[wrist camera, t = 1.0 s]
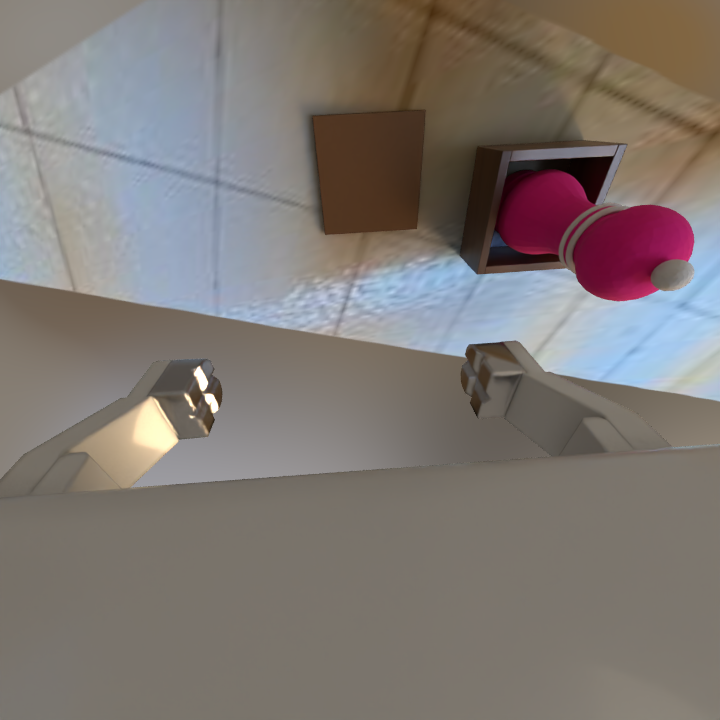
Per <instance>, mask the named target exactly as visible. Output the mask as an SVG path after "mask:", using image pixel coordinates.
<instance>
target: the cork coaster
mask: <svg viewBox="0 0 720 720" xmlns="http://www.w3.org/2000/svg"><path fill="white" fill-rule="evenodd" d="M425 112H426V111H425V110H417V111H398V112H378V113H358V114H339V115H319V116H313V126H314V136H315V145H316V154H317V164H318V173H319V182H320V191H321V201H322V210H323V219H324V229H325V235H328V234H344V233H360V232H376V231H392V230H408V229H417V222H418V208H419V194H420V181H421V167H422V153H423V140H424V126H425Z"/></svg>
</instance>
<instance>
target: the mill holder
mask: <svg viewBox="0 0 720 720" xmlns="http://www.w3.org/2000/svg"><path fill="white" fill-rule="evenodd" d="M626 147H627V144H623V143H611V142H599V141H587V140H581V141H563V142H545V143H526V144H508V145H490V146H478V148H477V154H476V160H475V166H474V172H473V178H472V185H471V191H470V197H469V203H468V209H467V215H466V221H465V227H464V233H463V239H462V245H461V251H460V257H461V258H462V259H463V260H464V261H465V262H466V263H467V264H468V265H469V266H470V267H471V268H472V270H473V271H474V272H475V273H476V274H490V273H505V272H519V271H534V270H549V269H563V268H565V267H564V266H563V265H562V264H561V262H560V259H559V255H556V254H551V253H546V254H526V253H522V252H518V251H516V250H514V249H512V248H510V247H509V246H504V247H490V246H491V241H492V237H493V232H494V228H495V223H496V219H497V215H498V210H499V206H500V201H501V197H502V192H503V188H504V183H505V179H506V174H507V170H508V166H509V162H514V161H532V160H549V159H567V158H572V159H571V162H570V165H569V168H568V171H567V174H570V175H571V176H573V177H574V178H575V179H576V180H577V181H578V182H579V183H580V185H581V186H582V187H583V189H584V192H585V194H586V197H587V200H588V201H589V202H591V203H593V204H595V205H600V204H603V202H604V200H605V197H606V195H607V193H608V190H609V188H610V185H611V183H612V181H613V178H614V176H615V173H616V171H617V169H618V166H619V164H620V161H621V159H622V157H623V154H624V152H625V149H626Z"/></svg>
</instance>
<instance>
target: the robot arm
mask: <svg viewBox="0 0 720 720" xmlns="http://www.w3.org/2000/svg"><path fill="white" fill-rule="evenodd" d="M465 355H466V357H467V359H468V361H467V362H466V363H464V364H463V365H462V370H461V383H462V387H463V389H464V391H465V393H466V394H468V395H469V396H471V397H472V398H471V402H470V404H471V406H472V408H473V410H474V412H475V414H476V416H477V418H478V419H479V418H503V417H505V418H504V419H505V420H507V421H508V422H509V423H510V424H512V425H513V426H514V427H515V428H517V429H518V430H519V431H520V432H522V433H523V434H524V435H525V436H527V437H528V438H529V439H531V440H532V441H533V442H534V443H536V444H537V445H538V446H539V447H541V448H542V449H543V450H544V451H546V452H547V453H548V454H549V455H551V457H538V458H524V459H512V460H498V461H484V462H470V463H457V464H445V465H444V464H443V465H430V466H417V467H404V468H390V469H377V470H363V471H349V472H337V473H323V474H309V475H298V476H297V475H296V476H283V477H269V478H257V479H242V480H230V481H215V482H202V483H188V484H176V485H162V486H148V487H135V488H130V487H131V486H132V485H134V484H135V482H137V481H138V480H139V479H140V478H141V477H142V476H143V475H144V474H145V473H146V472H147V471H148V470H149V469H150V468H151V467H152V466H153V465H154V464H156V462H158V461H159V460H160V459H161V458H162V457H163V456H164V455H165V454H166V453H167V452H168V451H169V450H170V449H171V448H172V447H173V446H174V445H175V444H176V443H177V442H179V439H190V438H200V437H208V435H209V433H210V430H211V428H212V425H213V423H214V420H215V419H214V417H213V415H212V414H213V413H214V412H216V411H217V410H218V409H219V408H220V405H221V402H222V388H221V384H220V381H219V380H218V379H217V378H215V377H214V376H213V375H212V373H213V371H214V367H213V365H212V363H211V361H210V360H208V359H185V360H163V361H156V362H153V363H152V365H151V366H150V367H149V369H148V370H147V371H146V373H145V374H144V375H143V377H142V378H141V379H140V381H139V382H138V383H137V385H136V386H135V387H134V389H133V390H132V391H131V392H130V394H129V395H128V396H127V398H120V399H118V400H117V401H115V402H113V403H112V404H110V405H108V406H106V407H105V408H103V409H101V410H100V411H98V412H96V413H94V414H93V415H91V416H89V417H88V418H86V419H84V420H82V421H81V422H79V423H77V424H75V425H74V426H72V427H70V428H69V429H67V430H65V431H64V432H62V433H60V434H58V435H56V436H55V437H53V438H51V439H50V440H48V441H46V442H44V443H43V444H41V445H39V446H37V447H36V448H34V449H32V450H31V451H29V452H27V453H25V454H24V455H23V456H22V457H21V458H20V459H19V460H18V461H17V462H16V463H15V464H14V465H13V466H12V467H11V469H10V470H9V471H8V472H7V473H6V474H5V475H4V476H3V477H2V478H1V479H0V720H720V444H713V445H700V446H687V447H686V446H685V447H672V446H671V445H670V444H669V443H668V442H667V441H666V440H665V439H664V438H663V437H662V436H661V435H660V434H658V433H657V432H656V431H655V430H654V429H653V428H652V427H651V426H650V425H649V424H648V423H647V422H646V421H645V420H644V419H643V418H642V417H641V416H640V415H639V414H638V413H636V412H634V411H632V410H630V409H627V408H625V407H623V406H621V405H619V404H617V403H615V402H613V401H611V400H609V399H606V398H604V397H602V396H600V395H598V394H596V393H594V392H592V391H590V390H587V389H585V388H583V387H581V386H579V385H577V384H575V383H573V382H570V381H568V380H566V379H564V378H562V377H560V376H558V375H556V374H554V373H552V372H545V371H544V370H543V369H542V368H541V367H540V365H539V364H538V363H537V362H536V361H535V360H534V358H533V357H532V356H531V355H530V354H529V353H528V351H527V350H526V349H525V348H524V347H523V346H522V344H521V343H520V342H518V341H505V342H498V343H482V344H469V345H468V347H467V349H466V353H465Z"/></svg>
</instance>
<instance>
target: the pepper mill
mask: <svg viewBox="0 0 720 720" xmlns="http://www.w3.org/2000/svg"><path fill="white" fill-rule="evenodd" d="M494 230H495V231H497V232H498V233H499V234H500V236H501V238H502V240H503V241H504V243H505V244H506V245H508V246H509V247H510V248H512V249H514V250H516V251H518V252H522V253H526V254H546V253H551V254H556V255H559V259H560V262H561V264H562V265H563V266H564V267H565V268H567V269H568V270H571V271H572V272H573V273H575V274H576V277H577V279H578V282H579V283H580V284H581V285H582V286H583V288H584V289H585V290H587V291H588V292H590V293H591V294H593V295H595V296H597V297H600V298H603V299H606V300H613V301H627V300H633V299H638V298H641V297H644V296H647V295H649V294H652V293H654V292H656V291H658V290H663V291H674V290H677V289H680V288H682V287H684V286H686V285H687V284H688V283H690V281H691V280H692V279H693V276H694V268H693V266H692V265H691V264H690V263H689V262H688V260H689V259H690V257H691V255H692V251H693V246H694V234H693V231H692V228H691V226H690V224H689V222H688V221H687V220H686V219H685V218H684V217H683V216H682V215H680V214H679V213H677V212H676V211H674V210H671V209H669V208H665V207H661V206H656V205H640V206H634V207H628V206H622V205H621V204H617V203H603V204H600V205H595V204H593V203H591V202H589V201H588V200H587V197H586V194H585V192H584V189H583V187H582V186H581V185H580V183H579V182H578V181H577V180H576V179H575V178H574V177H573V176H571V175H570V174H567V173H565V172H563V171H560V170H555V169H548V170H541V171H537V172H536V171H533V170H522V171H518V172H515V173H513V174H511V175H510V176H508V177H507V178H506V179H505V183H504V188H503V192H502V197H501V201H500V206H499V210H498V215H497V219H496V223H495V228H494Z"/></svg>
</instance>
